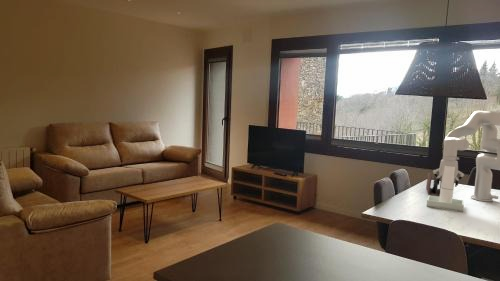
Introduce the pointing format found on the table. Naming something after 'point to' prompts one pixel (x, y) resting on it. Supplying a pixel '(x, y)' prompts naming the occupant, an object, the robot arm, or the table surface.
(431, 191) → the letter holder
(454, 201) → the tray
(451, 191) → the cylindrical container
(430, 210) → the table surface
